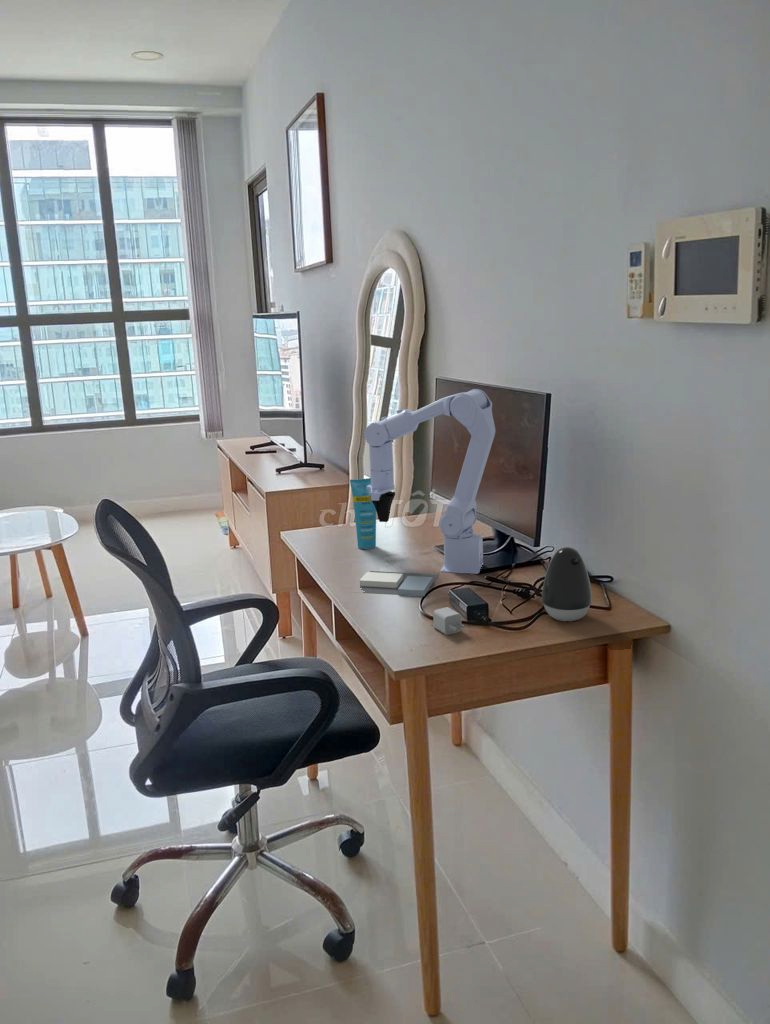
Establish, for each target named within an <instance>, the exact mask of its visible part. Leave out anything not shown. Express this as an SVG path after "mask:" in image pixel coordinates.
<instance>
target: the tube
mask: <svg viewBox="0 0 770 1024" xmlns="http://www.w3.org/2000/svg"><path fill="white" fill-rule="evenodd" d="M349 484H350V487H351V493H352V501H353V502H352V503H353V508H354V509H353V512H354V518H355V519H354V521H355V530H356V538H357V540H356V541H357V547H358V548H359V549H360V550H371V549H374V548H376V546H377V511H376V508H375V506H374V504H373V502H372V501H371V499H370V495H371V490H370V489H367V486H368V485H371V477H369V478H357V479H349Z"/></svg>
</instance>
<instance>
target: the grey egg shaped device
mask: <svg viewBox="0 0 770 1024" xmlns="http://www.w3.org/2000/svg"><path fill="white" fill-rule="evenodd" d="M542 585H543V586H542V591H541V601H542V603H543V606H544V609H545V611H546V613H547V614H548V615H549V616H550V617H551V618H553V619H555V620H557V621H560V622H566V621H569V622H574V621H577V620H580V619H582V618H584V616H585V615H586V614H587V613H588V611H589V610H590V608H591V607H590V606H591V605H592V603H593V594H592V587H591V586H592V585H591V581H590V577H589V573H588V569H587V567H586V564H585V561H584V559H583V557H582V555H581V554H580V553H579V551H578V550H576V549H575V548H573V547H569V546H564V547H562V548H561V547H560V548H559V549H558V550H557V551H555V553H554V555H553V556H552V558H551V560H550V562H549V564H548V566H547V570H546V573H545V577H544V581H543V584H542Z"/></svg>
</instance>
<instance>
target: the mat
mask: <svg viewBox="0 0 770 1024" xmlns="http://www.w3.org/2000/svg"><path fill="white" fill-rule="evenodd" d="M369 572H377V573H397V574H403V580H402V582H401V583H400V584H399V586H398V587H397V588H388V587H370V586H360V588H362V589H361V590H363V591H365V592H363V594H374V595H375V594H376V595H392V596H393V595H395V596H399V595H398V588H399V587H400V586H401V584H402V583H403V582H404V580H405V579H406V578H407V576H420V577H433V583H434V582H435V580H436V579H437V578H438V576H439V573H437V574H436V573H435V574H434V573H419V572H418V573H416V572H395V571H383V570H382V571H378V570H370V571H369ZM429 589H430V588H429ZM429 589H428V591H429ZM428 591H427V592H426V594H427V593H428ZM406 596H409V597H412V596H411V595H406Z"/></svg>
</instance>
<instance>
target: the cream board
mask: <svg viewBox="0 0 770 1024" xmlns="http://www.w3.org/2000/svg"><path fill="white" fill-rule="evenodd" d="M402 580H403V574H397V573H377V572H370V571H366V572H365V573H364V575H363V576H362V577H361V578H359V584H360V586H370V587H388V588H397V587H398V586H399V584H400V583H401V582H402Z"/></svg>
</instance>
